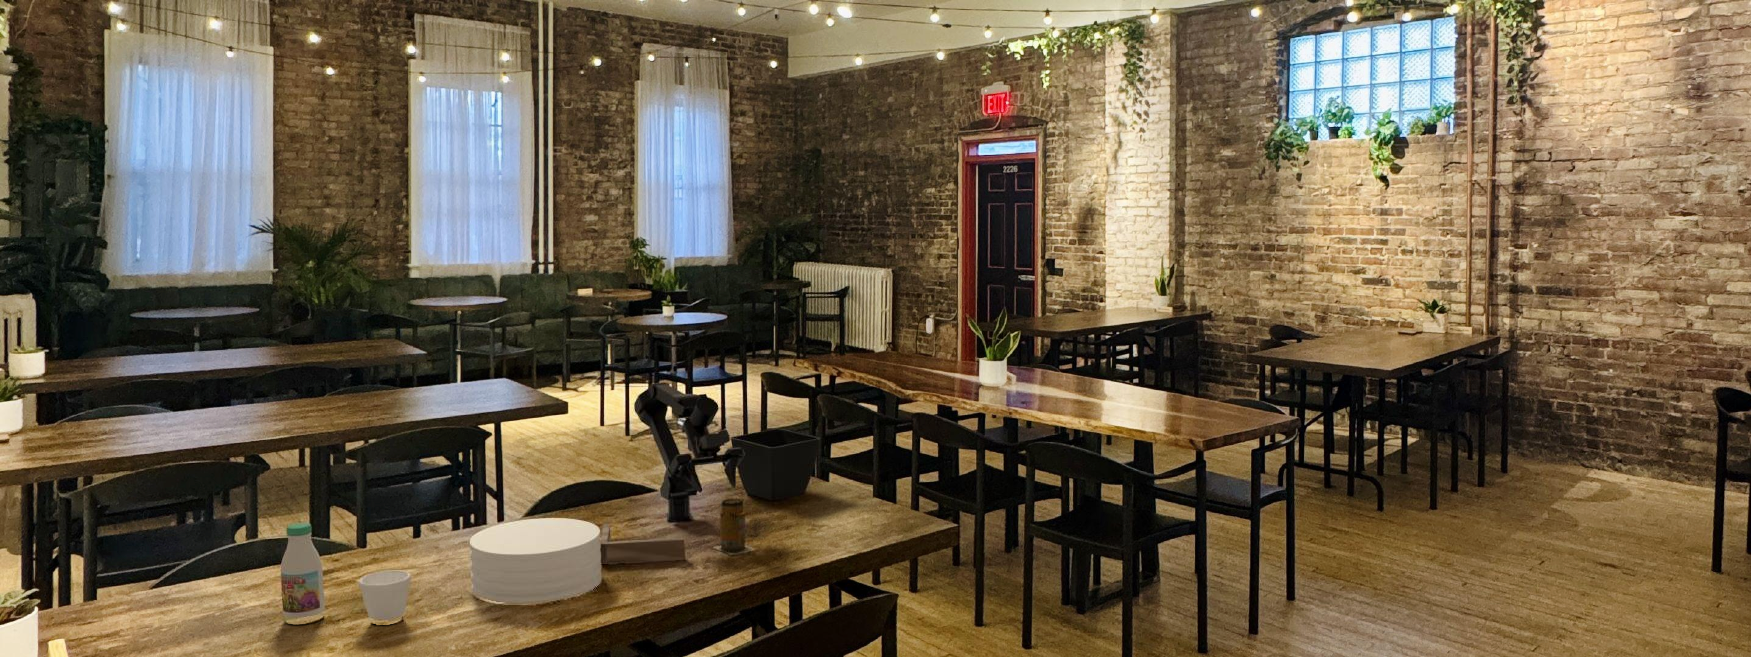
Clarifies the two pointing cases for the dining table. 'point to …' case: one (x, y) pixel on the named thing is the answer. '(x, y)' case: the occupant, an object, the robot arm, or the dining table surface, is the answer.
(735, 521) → the condiment
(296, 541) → the milk bottle
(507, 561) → the plate stack
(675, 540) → the corner arena
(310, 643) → the dining table surface
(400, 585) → the cup
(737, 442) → the flower pot
